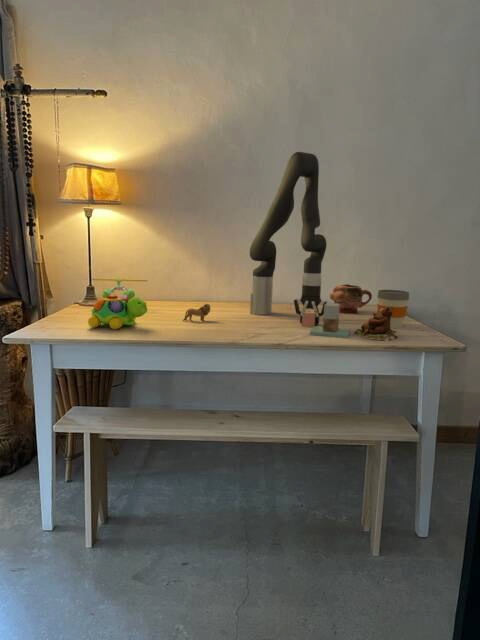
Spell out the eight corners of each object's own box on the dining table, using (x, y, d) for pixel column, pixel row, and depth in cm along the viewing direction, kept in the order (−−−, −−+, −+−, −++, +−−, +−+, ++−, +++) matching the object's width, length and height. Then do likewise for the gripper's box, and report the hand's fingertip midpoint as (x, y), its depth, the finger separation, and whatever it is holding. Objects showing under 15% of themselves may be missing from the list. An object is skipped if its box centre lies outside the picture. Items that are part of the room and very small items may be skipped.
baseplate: (309, 334, 182) (309, 331, 182) (314, 328, 194) (314, 325, 194) (347, 338, 178) (347, 334, 178) (350, 331, 190) (350, 328, 189)
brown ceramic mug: (365, 312, 239) (367, 284, 236) (374, 316, 227) (376, 287, 224) (325, 311, 237) (327, 283, 234) (332, 316, 225) (334, 286, 222)
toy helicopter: (148, 308, 231) (148, 278, 228) (145, 311, 222) (145, 280, 219) (95, 307, 229) (94, 276, 226) (90, 310, 220) (89, 278, 218)
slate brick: (323, 318, 182) (324, 305, 182) (326, 315, 189) (326, 302, 188) (336, 319, 181) (337, 306, 180) (338, 316, 188) (339, 303, 187)
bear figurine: (368, 331, 193) (371, 301, 191) (403, 337, 183) (406, 306, 181) (349, 335, 184) (351, 304, 182) (385, 342, 173) (388, 309, 171)
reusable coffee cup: (390, 331, 194) (393, 294, 191) (368, 325, 205) (371, 290, 202) (412, 329, 200) (416, 292, 197) (390, 323, 211) (393, 289, 208)
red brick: (301, 327, 197) (302, 315, 196) (304, 324, 203) (305, 312, 203) (313, 328, 195) (314, 316, 194) (316, 325, 202) (317, 313, 201)
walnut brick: (322, 331, 183) (323, 318, 182) (325, 328, 190) (326, 315, 189) (336, 332, 182) (336, 319, 181) (338, 329, 188) (338, 316, 188)
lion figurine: (208, 319, 207) (209, 303, 205) (211, 321, 203) (212, 304, 201) (181, 320, 203) (181, 303, 201) (183, 322, 199) (184, 305, 197)
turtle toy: (138, 331, 180) (138, 300, 177) (80, 327, 184) (79, 297, 182) (154, 323, 196) (154, 294, 194) (101, 320, 200) (100, 291, 198)
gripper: (292, 283, 195) (290, 325, 198) (328, 286, 191) (325, 328, 194) (296, 282, 202) (294, 322, 205) (330, 284, 198) (328, 325, 201)
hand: (309, 324), depth 199 cm, fingers closed on red brick, 5 cm apart
